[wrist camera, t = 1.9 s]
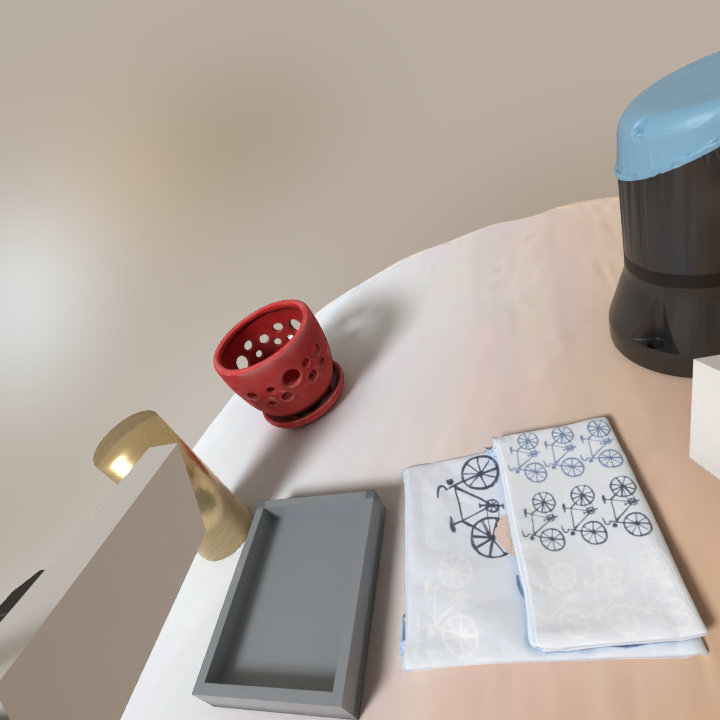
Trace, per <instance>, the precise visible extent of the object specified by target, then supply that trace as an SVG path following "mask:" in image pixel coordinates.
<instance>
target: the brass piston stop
mask: <svg viewBox="0 0 720 720" xmlns="http://www.w3.org/2000/svg"><path fill="white" fill-rule="evenodd" d="M174 443H178V445H179V448H180V451H181V454H182V457H183V460H184V463H185V466H186V469H187V472H188V476H189V479H190V482H191V485H192V488H193V491H194V494H195V497H196V500H197V503H198V506H199V509H200V513H201V516H202V519H203V522H204V525H205V528H206V533H205V536H204V538H203V540H202V542H201V544H200V546H199V549H198V551H197V553H198V554H200V555H201V556H202V557H203V558H205V559H206V560H209V561H218V560H221V559H224V558H226V557H228V556H229V555H231V554H232V553H234V552H235V551H236V550H237V549H238V548H239V547H240V546H241V545H242V544H243V542H244V541H245V539H246V538H247V535H248V532H249V529H250V527H251V524H252V517H251V513H250V511H249V510H248V509H247V508H246V507H245V506H244V505H243V504H242V503H241V501H240V500H239V499H238V498H237V497H236V496H235V495H234V494H233V493H232V492H231V491H230V490H229V489H228V488H227V487H226V486H225V485H224V484H223V483H222V482H221V480H220V479H219V478H218V477H217V476H216V475H215V474H214V473H213V472H212V471H211V470H210V469H209V468H208V467H207V466H206V465H205V464H204V463H203V462H202V461H201V459H200V458H199V457H198V456H197V455H196V454H195V453H194V452H193V451H192V450H191V449H190V448H189V447H188V446H187V445H186V444H185V443H184V442H183V441H182V440H181V439H180V437H178V435H177V434H176V433H175V432H174V431H173V430H172V429H171V428H170V427H169V426H168V425H167V424H166V423H165V422H164V421H163V420H162V418H160V417H159V415H158V414H157V413H156V412H154V411H150V410H147V411H142V412H138V413H136V414H134V415H131V416H130V417H128V418H126V419H125V420H123V421H122V422H120V423H119V424H118V425H116V426H115V427H114V428H113V429H112V430H111V431H110V432H109V433H108V434H107V435H106V436H105V437H104V438H103V440H102V441H101V442H100V444H99V445H98V447H97V449H96V451H95V453H94V457H93V461H94V465H95V466H96V467H97V468H98V469H100V470H101V471H102V472H103V473H105V474H106V475H107V476H108V477H109V478H110V479H111V480H113V481H114V482H115V483H116V484H117V485H118V484H119V483H120V481H121V480H122V479H123V478H124V477H125V476H126V474H127V473H128V472H129V471H130V470H131V468H132V467H133V466H134V465H135V464H136V463H137V461H138V460H139V459H140V458H141V457H142V456H143V454H144V453H145V452H146V451H147V450H148V449H149V447H156V446H162V445H168V444H174Z"/></svg>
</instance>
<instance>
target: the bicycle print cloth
mask: <svg viewBox="0 0 720 720" xmlns="http://www.w3.org/2000/svg"><path fill="white" fill-rule="evenodd" d="M492 442H493V448H492V449H488V448H484V450H485V451H486V452H484V453H479V454H474V455H470V456H466V457H460V458H455V459H450V460H445V461H440V462H436V463H431V464H422V465H417V466H412V467H408V468H406V469H404V470H403V472H402V479H403V485H404V497H405V600H406V614H404V615H403V616H402V623H401V644H400V651H399V655H398V656H400V657H401V658H402V659H401V665H402V669H403V670H404V671H405V672H406V673H409V672H414V671H423V670H432V669H439V668H446V667H460V666H470V665H481V664H499V663H531V662H568V661H589V660H612V659H662V658H689V657H692V656H696V655H705V654H708V650H707V648H706V647H705V645H704V643H703V640H702V638H701V637H702V636H705V635H706V634H707V633H708V630H707V628H706V626H705V624H704V623H703V621H702V619H701V617H700V615H699V612H698V610H697V608H696V606H695V604H694V602H693V600H692V598H691V596H690V594H689V592H688V589H687V587H686V585H685V583H684V581H683V579H682V577H681V575H680V572H679V570H678V568H677V566H676V564H675V562H674V559H673V557H672V555H671V553H670V550H669V548H668V546H667V543H666V541H665V539H664V537H663V535H662V532H661V530H660V528H659V526H658V524H657V522H656V519H655V517H654V515H653V512H652V510H651V509H650V507H649V504H648V502H647V500H646V498H645V496H644V494H643V492H642V490H641V488H640V486H639V484H638V482H637V479H636V477H635V475H634V473H633V471H632V469H631V467H630V464H629V462H628V460H627V457H626V455H625V454H624V452H623V450H622V448H621V446H620V444H619V442H618V440H617V437H616V435H615V433H614V431H613V429H612V427H611V425H610V423H609V421H608V419H607V418H606V417H598V418H594V419H588V420H584V421H580V422H577V423H573V424H568V425H564V426H558V427H552V428H547V429H541V430H536V431H530V432H523V433H517V434H512V435H508V436H501V437H492ZM501 515H508V519H509V525H510V531H511V536H512V541H513V546H514V550H515V555H516V558H515V557H514V556H512V555H511V554H509V553H506V552H507V551H506V550H505V549H504V548H503V547H502V546H501V545H500V543H499V542H497V540H496V538H495V534H494V531H495V528H496V527H497V522H498V521H499V519H500V516H501ZM404 617H405V621H404Z"/></svg>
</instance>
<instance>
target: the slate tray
mask: <svg viewBox="0 0 720 720" xmlns="http://www.w3.org/2000/svg"><path fill="white" fill-rule="evenodd" d="M385 511H386V508H385V506H384V504H383V503H382V501H381V500H380V498H379V497H378V495H377V494H376V492H375V490H372V491H362V492H351V493H341V494H330V495H320V496H310V497H299V498H289V499H279V500H268V501H259V504H258V507H257V509H256V512H255V515H254V518H253V521H252V524H251V527H250V529H249V532H248V535H247V538H246V541H245V544H244V547H243V549H242V552H241V555H240V558H239V561H238V564H237V567H236V569H235V572H234V575H233V578H232V581H231V584H230V587H229V589H228V592H227V595H226V598H225V601H224V604H223V607H222V609H221V612H220V615H219V618H218V621H217V624H216V627H215V629H214V632H213V635H212V638H211V641H210V644H209V647H208V649H207V652H206V655H205V658H204V661H203V664H202V667H201V669H200V672H199V675H198V678H197V681H196V684H195V687H194V689H193V692H192V695H194V696H196V697H197V698H199V699H201V700H203V701H205V702H207V703H208V704H210V705H212V706H214V707H225V708H235V709H246V710H257V711H267V712H278V713H288V714H299V715H310V716H320V717H331V718H341V719H352V720H358V719H359V711H360V703H361V696H362V688H363V680H364V673H365V665H366V657H367V650H368V642H369V634H370V626H371V619H372V611H373V603H374V596H375V588H376V580H377V573H378V565H379V557H380V549H381V542H382V534H383V526H384V519H385Z"/></svg>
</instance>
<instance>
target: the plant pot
mask: <svg viewBox="0 0 720 720" xmlns="http://www.w3.org/2000/svg"><path fill="white" fill-rule="evenodd" d="M291 319H295V320H297V321H299V322H300V323H301V325H300V327H299V329H298V330H296V329H295V328H294V327H293V326H292V325H291ZM276 323H281V324H282V325H283V328H282V329H281V330H275V329H274V328H273V325H274V324H276ZM263 334H266V335H268V337H269V340H268V341H267V342H266V343H261V342H260V340H259V338H260V336H261V335H263ZM290 334H291V335H293V337H292V338H291V340H289V339H288V338H287V336H288V335H290ZM276 338H280V339H281V341H282V342H281V344H275V343H274V340H275V339H276ZM248 340H250V341H251V342H252V347H251V349H249V350H246V349H245V348H244V345H245V342H247V341H248ZM258 350H261V351H262V355H261V357H257V356H256V352H257V351H258ZM239 356H244V357H246V358H247V360H248V367H247V368H243V369H238V367H237V364H236V361H237V358H238V357H239ZM214 367H215V370H216V371H217V372H218V374H219V375H220V376H221V377H222V378H223V380H224V381H225V382H226V383H227V384H228V386H229V387H230V388H231V389H232V390H233V391H235V393H237V394H238V395H239V396H240V397H242V398H243V399H244V400H245V401H246V402H248V403H249V404H250V405H252V406H253V407H255V408H256V409H258V410H260V411H262V412H263V415H264V417H265V419H266V420H267V421H268V422H269V423H271V424H272V425H274V426H277V427H280V428H295V427H299V426H303V425H305V424H308V423H310V422H312V421H314V420H316V419H317V418H319V417H320V416H322V415H323V414H324V413H326V412H327V411H328V410H329V409H330V408H331V407H332V405H333V404H334V403H335V402H336V400H337V398H338V397H339V395H340V393H341V390H342V387H343V383H344V375H343V371H342V369H341V367H340V365H339V364H338V363H337V362H335V361H334V360H332V356H331V351H330V348H329V345H328V342H327V339H326V337H325V335H324V332H323V330H322V328H321V327H320V325H319V323H318V321H317V319H316V318H315V316H314V315H313V313H312V312H311V310H310V309H309V307H308V306H307V305H306V304H305V303H303V302H302V301H299V300H282V301H278V302H275V303H272V304H269V305H267V306H265V307H263V308H260V309H259V310H257V311H255V312H253V313H252V314H250V315H249V316H247V317H246V318H244V319H243V320H242V321H240V322H239V323H238V324H237V325H235V326H234V327H233V328H232V329H231V330H230V331H229V332H228V333H227V334H226V336H225V337H224V338H223V339H222V341H221V342H220V344H219V345H218V347H217V349H216V351H215V354H214Z"/></svg>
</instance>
